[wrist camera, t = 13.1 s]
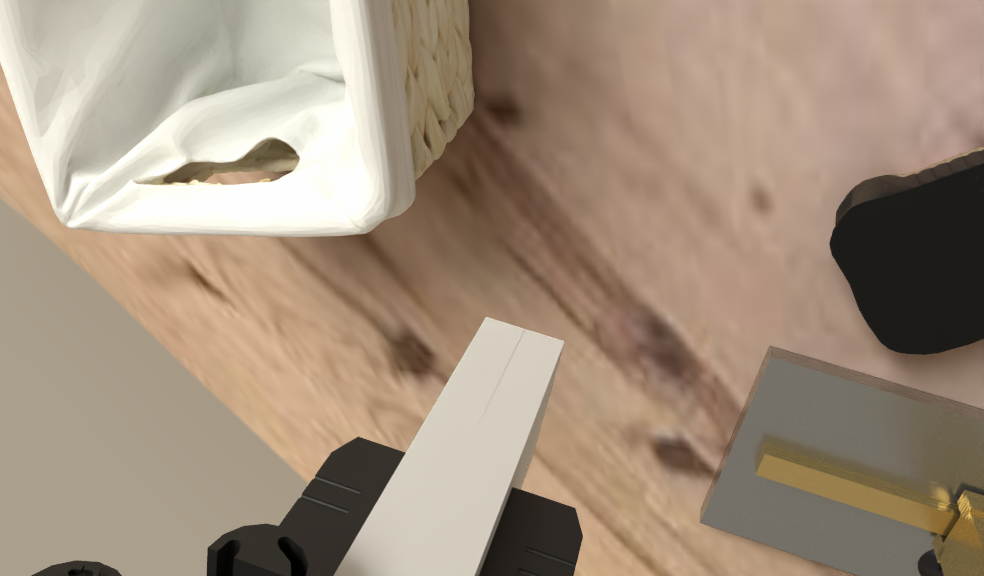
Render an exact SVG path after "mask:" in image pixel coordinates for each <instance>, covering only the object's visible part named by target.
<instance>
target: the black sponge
mask: <svg viewBox="0 0 984 576" xmlns="http://www.w3.org/2000/svg"><path fill="white" fill-rule="evenodd" d="M835 224H836V227H835V228H834V230H833V233H832V236H831V240H830V248H831V252H832V256H833V257H834V259H835V261H836V262H837V264H838V266H839V267H840V269H841V270H842V272H843V274H844V275H845V277H846V279H847V280H848V282H849V284H850V287H851V289H852V292H853V294H854V297H855V300H856V302H857V305H858V308H859V310H860V312H861V313H862V315H863V317H864V319H865V321H866V322H867V324H868V325H869V327H870V328H871V330H872V331H873V332H874V334H875V335H876V336H877V338H878V339H879V341H880V342H881V343H882V344H883V345H885V346H886V347H887V348H889V349H891V350H893V351H896V352H900V353H906V354H922V355H925V354H933V353H940V352H944V351H947V350H951V349H954V348H958V347H961V346H965V345H968V344H971V343H974V342H976V341H979V340H982V339H984V147H979V148H975V149H973V150H972V151H969V152H965V153H961V154H958V155H956V156H954V157H951V158H948V159H945V160H943V161H940V162H938V163H935V164H933V165H931V166H929V167H926V168H924V169H921V170H919V171H916V172H913V173H910V174H906V175H905V174H902V175H884V176H879V177H875V178H872V179H868V180H865V181H863V182H862V183H860V184H859V185H857V186H856V187H854V188H853V189H852V190H851V191H850V192H849V193H848V195H847V196H846V198H845V199H844V200H843V202H842V203H841V205H840V206H839V208H838V210H837V212H836V223H835Z"/></svg>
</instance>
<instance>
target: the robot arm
mask: <svg viewBox="0 0 984 576" xmlns="http://www.w3.org/2000/svg"><path fill="white" fill-rule="evenodd" d="M564 342H565V341H563V340H560V339H556V338H553V337H550V336H547V335H543V334H540V333H537V332H534V331H530V330H527V329H524V328H521V327H518V326H514V325H511V324H508V323H505V322H501V321H498V320H495V319H492V318H488V317H486V318H485V319H484V321H483V323H482V325H481V326H480V328H479V330H478V331H477V333H476V335H475V336H474V338H473V340H472V341H471V343H470V345H469V347H468V348H467V350H466V352H465V353H464V355H463V357H462V358H461V360H460V362H459V364H458V365H457V367H456V369H455V370H454V372H453V374H452V375H451V377H450V379H449V381H448V382H447V384H446V386H445V387H444V389H443V391H442V392H441V394H440V396H439V397H438V399H437V401H436V403H435V404H434V406H433V408H432V409H431V411H430V413H429V414H428V416H427V418H426V420H425V421H424V423H423V425H422V426H421V428H420V430H419V431H418V433H417V435H416V437H415V438H414V440H413V442H412V443H411V445H410V447H409V448H408V450H407V452H406V453H405V452H402V451H399V450H396V449H393V448H390V447H387V446H384V445H381V444H378V443H375V442H372V441H369V440H366V439H363V438H360V437H357V438H355V439H354V440H352V441H350V442H348V443H347V444H345V445H343V446H342V447H340V448H338V449H337V450H335V451H333V452H332V453H331V454H330V456H329V457H328V458H327V460H326V461H325V462H324V464H323V465H322V467H321V468H320V469H319V471H318V472H317V474H316V475H315V478H314V480H313V479H312V481H311V482H310V483H309V485H308V486H307V487H306V489H305V490H304V492H303V493H302V496H301V498H299V499H298V500H297V502H296V503H295V504H294V506H293V507H292V508H291V510H290V511H289V512H288V514H287V515H286V517H285V518H284V519H283V521H282V522H281V524H280V525H279V526H275V525H270V524H260V525H250V526H243V527H240V528H238V529H235V530H233V531H231V532H228V533H226V534H224V535H222V536H221V537H220V538H219V539H218V540H216V541H215V542H214V543H213V544H212V545H211V546H209V547H208V556H207V576H573V575H574V571H575V566H576V563H577V559H578V555H579V550H580V546H581V542H582V538H583V535H582V531H581V528H580V524H579V520H578V516H577V513H576V509H575V508H573V507H570V506H567V505H564V504H561V503H558V502H555V501H553V500H550V499H547V498H544V497H541V496H538V495H535V494H532V493H529V492H526V491H523V490H521V487H522V484H523V482H524V479H525V476H526V473H527V471H528V468H529V465H530V462H531V460H532V457H533V453H534V450H535V446H536V442H537V439H538V435H539V432H540V428H541V424H542V421H543V417H544V414H545V410H546V407H547V403H548V399H549V396H550V392H551V389H552V385H553V381H554V378H555V374H556V371H557V367H558V363H559V360H560V356H561V353H562V349H563V346H564ZM32 576H122V575H120V573H119V572H118V571H117V570H116V569H114V568H111V567H109V566H107V565H104V564H102V563H100V562H89V561H71V562H67V563H62V564H57V565H52V566H50V567H48V568H46V569H44V570H42V571H40V572H38V573H36V574H34V575H32Z"/></svg>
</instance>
